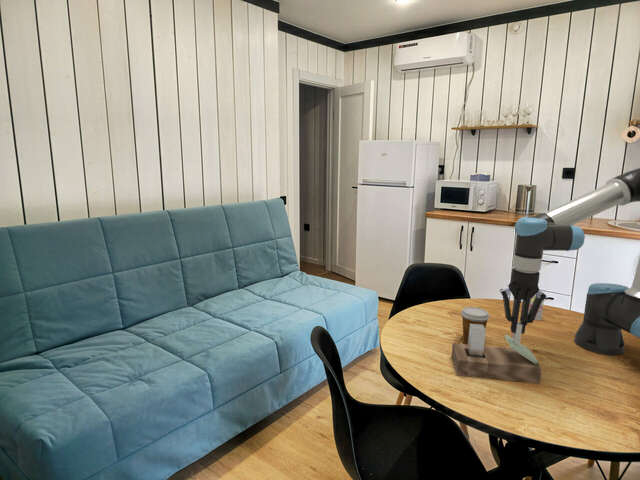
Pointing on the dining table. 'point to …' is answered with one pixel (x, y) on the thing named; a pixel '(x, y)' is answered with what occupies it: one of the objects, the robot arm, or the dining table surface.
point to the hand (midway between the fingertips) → (515, 342)
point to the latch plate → (521, 350)
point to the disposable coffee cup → (473, 319)
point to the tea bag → (540, 310)
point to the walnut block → (495, 364)
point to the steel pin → (476, 340)
